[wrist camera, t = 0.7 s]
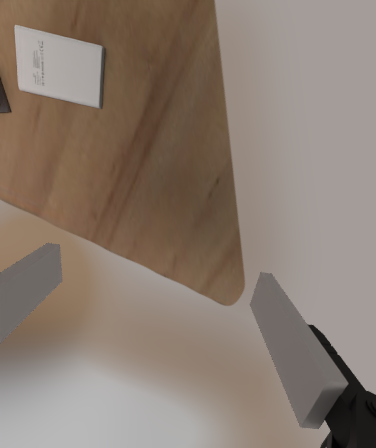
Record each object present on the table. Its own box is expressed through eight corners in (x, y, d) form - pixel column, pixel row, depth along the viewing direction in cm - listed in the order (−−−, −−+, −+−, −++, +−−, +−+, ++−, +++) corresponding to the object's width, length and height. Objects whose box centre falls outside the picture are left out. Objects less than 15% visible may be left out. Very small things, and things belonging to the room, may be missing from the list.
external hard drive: (103, 110, 33) (25, 92, 32) (106, 50, 30) (22, 29, 29) (98, 107, 31) (17, 89, 30) (101, 44, 28) (13, 22, 28)
